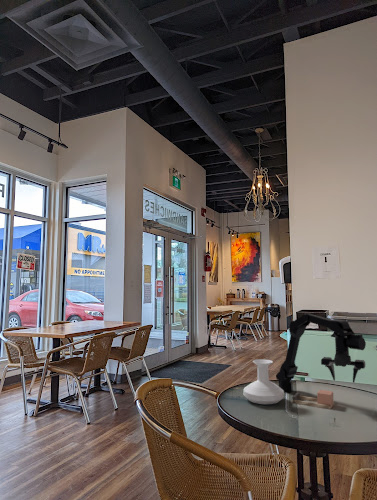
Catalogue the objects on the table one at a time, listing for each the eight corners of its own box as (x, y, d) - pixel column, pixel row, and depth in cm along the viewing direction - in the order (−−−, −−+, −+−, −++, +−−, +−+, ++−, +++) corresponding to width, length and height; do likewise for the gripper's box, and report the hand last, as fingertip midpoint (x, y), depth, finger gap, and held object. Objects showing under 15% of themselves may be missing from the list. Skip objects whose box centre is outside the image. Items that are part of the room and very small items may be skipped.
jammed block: (317, 406, 172) (317, 392, 173) (320, 402, 178) (320, 389, 178) (331, 408, 169) (330, 394, 170) (333, 404, 174) (333, 391, 175)
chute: (291, 403, 178) (291, 396, 178) (296, 398, 185) (296, 392, 185) (330, 409, 168) (330, 402, 168) (334, 404, 175) (334, 397, 176)
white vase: (292, 401, 180) (291, 361, 182) (267, 410, 168) (266, 367, 169) (260, 392, 196) (259, 355, 197) (235, 400, 183) (234, 361, 185)
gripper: (317, 348, 170) (319, 382, 168) (361, 351, 160) (363, 388, 159) (322, 345, 179) (324, 377, 178) (364, 347, 170) (366, 382, 168)
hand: (343, 381), depth 170 cm, fingers open, 8 cm apart
